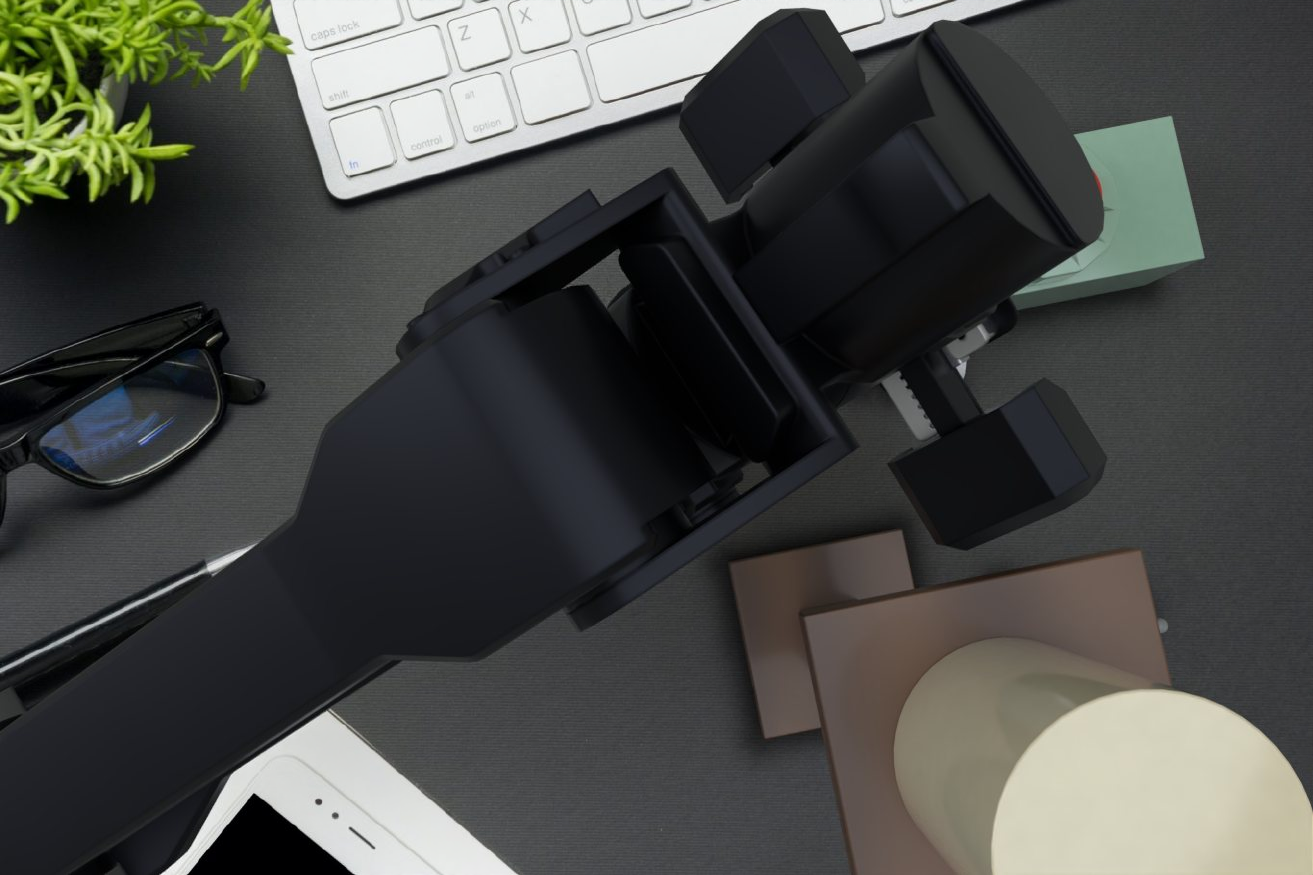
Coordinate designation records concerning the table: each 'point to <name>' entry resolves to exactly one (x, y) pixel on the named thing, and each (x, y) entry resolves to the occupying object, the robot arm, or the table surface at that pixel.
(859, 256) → the robot arm
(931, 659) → the stand
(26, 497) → the table surface
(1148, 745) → the cream cylinder
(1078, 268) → the green rectangular block
